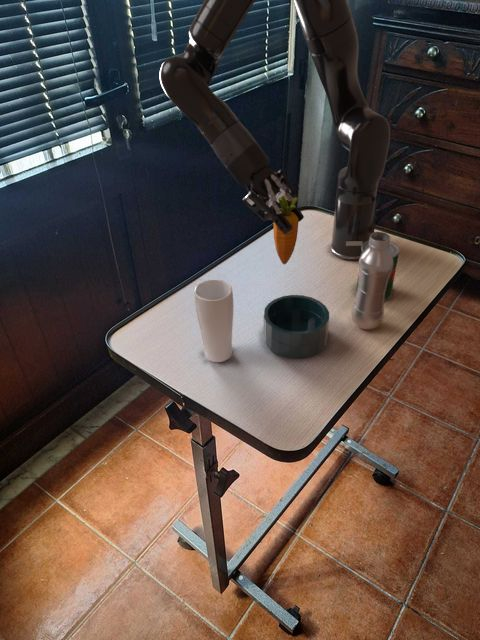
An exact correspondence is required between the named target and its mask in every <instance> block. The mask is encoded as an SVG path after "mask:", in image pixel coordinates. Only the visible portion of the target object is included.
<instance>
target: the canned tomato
mask: <svg viewBox="0 0 480 640" xmlns="http://www.w3.org/2000/svg"><path fill="white" fill-rule="evenodd" d="M368 243H369V241H366V242H365V243H363V244H362V247H361V255H362V253H363V252H364V251H365V250H366V249H367V248H368V247H369V245H368ZM389 243H390V246H389V248H388V250H389V252H390V254H391V256H392V258H393V268H392V271H391V274H390V277H389V279H388V282H387V286H386V290H385V296H384V302H385V301H387V300H389V299H390V298H391V296H392V292H393V287H394V282H395V276H396V270H397V266H398V265H397V264H398V260H399V254H400V248H399V246H398V245H397V244H396V243H394V242H392V241H390V242H389ZM360 257H361V256H360ZM358 285H359V271H358V272H357V279H356V287H355V293H356V294H357V291H358Z"/></svg>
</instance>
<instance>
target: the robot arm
mask: <svg viewBox="0 0 480 640" xmlns="http://www.w3.org/2000/svg"><path fill="white" fill-rule="evenodd" d="M255 2H256V0H203V3H202V4H201V6H200V8H199V9H198V11H197V14H196V15H195V17H194V19H193V21H192V22H191V24H190V26H189V30H188V36H189V40H188V44H187V45H186V47H185V49H184V52H183V54H182V55H173V56H171V57H168V58H166V59H165V60H164V61H163V63H162V64H161V67H160V70H159V82H160V85H161V88H162V89H163V91H164V93H165V94H166V96H167V97H168V99H169V100H170V101H171V102H172V104H173V105H174V106H175V107H176V108H177V109H179V111H180V112H182V113H183V114H184V116H185V117H187V119H189V120H190V121H191V122H192V123H193V124H194V125H195V127H196V128H197V129H198V131H199V133H200V134H201V135H202V137H203V138H204V139H205V141H206V142H207V143H208V145H209V146H210V147H211V149H212V150H213V152H214V153H215V155H216V157H217V158H218V160H219V161H220V162H221V164H222V165H223V166H224V167H225V169H226V171H228V173H229V174H230V175H231V176H232V178H233V179H234V180H235V182H236V183H237V184H238V185H239V186H240V187H242V186H245V188H246V191H247V195H246V196H244V197H243V198H242V202H243V204H244V205H246V206H247V207H248V208H249V209H250V210H251V211H252V212H253V213H254V214H255V215H256V216H258V218H260V219H261V220H262V222H266V221H268V220H269V221H272V222H273V224H274V223H275V224H276V225H277V227H278V228H279V229H280V231H281V232H283V234H287V233H288V232H289V231H291V230H292V228H293V227H292V225H291V224H290V223H289V221H288V220H287V219H286V217H285V216H284V215H283V214H282V213H281V214H280V212H281V211H280V210H279V208H280V207H279V205H278V204H280V203H279V200H278V199H279V198H280V197H282V198H283V197H285V199H286V200H287V203H288V206H289V208H290V205H291V203H292V201H293V199H294V198H295V197H297V192H296V190H295V188H294V187H293V184H292V182H291V181H290V179H289V177H288V175H287V174H286V172H285V170H284V169H283V168H281V169H279V170H278V171H274V170H272V169H271V168H270V167H269V164H270V163H271V160H270V158H269V156H268V155H267V154H266V152H265V151H264V150H263V148H262V147H261V146H260V144H259V143H258V142H257V140H256V139H255V138H254V136H253V135H252V134H251V132H250V131H249V130H248V129H247V128H246V127H245V125H243V123H242V122H241V121H240V120H239V118H238V117H237V116H236V114H235V112H233V111H232V109H231V108H230V107H229V106H228V104H227V103H226V102H225V101H224V100H223V99H221V98H220V97H218V96H217V95H216V94H215V93H214V92H213V91H212V89H211V88H210V87H209V85H210V84H211V82H212V81H213V78H214V76H215V73H216V70H217V68H218V67H219V63H220V61H221V58H222V56H223V54H224V52H225V51H227V50H226V49H227V48H228V47H229V45H230V43H231V42H232V40H233V39H234V37H235V35H236V33H237V32H238V30H239V29H240V27H241V25H242V24H243V22H244V20H245V18H246V17H247V15H248V13H249V12H250V10H251V9H252V7H253V5H254V3H255ZM292 2H293V5H294V9H295V11H296V15H297V19H298V21H299V25H300V27H301V28H300V29H301V31H302V34H303V36H304V37H303V38H304V40H305V44H306V46H307V48H308V52H309V54H310V56H311V59H312V61H313V64H314V67H315V69H316V72H317V74H318V77H319V80H320V82H321V85H322V87H323V90H324V92H325V94H326V98H327V100H328V101H327V102H328V106H329V110H330V113H331V118H332V122H333V126H334V131H335V135H336V137H337V140H338V142H339V143H340V144H341V146H342V147H343V148H345V150H347V151H348V152H349V153H348V160H347V166H345V167H342V168H341V169H340V170H339V171H338V175H337V182H336V183H337V184H336V191H335V192H336V193H335V204H334V213H333V214H334V216H333V226H332V237H331V245H330V251H331V254H332V255H334V256H335V257H337V258H339V259H342V260H345V261H357V260H358V261H359V259H360V256H361V247H362V244H363V243H365V242H366V241H369V240H370V235H371V234H372V233H373V232H375V229H376V224H377V223H376V222H377V215H376V213H375V209H376V203H377V195H378V187H379V183H380V180H381V178H382V176H383V174H384V172H385V167H386V163H387V157H388V153H389V147H390V143H391V127H390V123H389V121H388V119H387V118H386V117H385V116H383V115H381V114H380V113H378V112H377V111H374V110H372V108H370V107H369V105H368V103H367V101H366V98H365V96H364V93H363V90H362V88H361V83H360V81H359V80H360V79H359V74H358V73H359V71H358V66H359V56H360V55H359V53H360V48H359V47H360V45H359V44H360V43H359V37H358V32H357V28H356V25H355V21H354V18H353V15H352V11H351V8H350V5H349V2H348V0H292ZM277 203H278V204H277ZM284 205H285V204H284ZM285 208H286V207H285ZM263 211H264V212H263ZM291 212H293V213H295V215H296V216H297V217H298V221H299V222H298V223H300V222H301V221H302V220H304V218H305V216H304V215H303V213H302V211H301V209H300V208H299V207H298V205H297V204H296V203H295V208H293V209H292V210H291Z"/></svg>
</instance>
